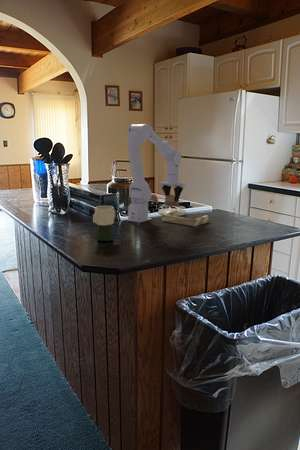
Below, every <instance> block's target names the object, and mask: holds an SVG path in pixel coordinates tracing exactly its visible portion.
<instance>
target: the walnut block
mask: <svg viewBox="0 0 300 450" xmlns="http://www.w3.org/2000/svg"><path fill="white" fill-rule="evenodd" d="M164 196H165V195H164ZM164 199H165V200H164V202H165V203H164V205H165V206H166V207H167V206H169V207H177V206H179V205H180V200H179V201H177V202H176V201H175V194H170V195H166V196H165V197H164Z"/></svg>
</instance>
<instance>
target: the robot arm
mask: <svg viewBox="0 0 300 450" xmlns="http://www.w3.org/2000/svg"><path fill="white" fill-rule="evenodd" d="M126 132H127V133H126V134H127V142H126V144H127V153H128V158H129V165H130V171H131V172H130V173H131V178H132V182H131V184H130V185H129V193H128V195H129V198H130V199H131V201H132V203H130V204H129V205H128V207H127V212H128V213H127V215H128V216H127V219H126V221H129V222H133V223H134V222H135V223H144V222H147V221H151V220H152V217H151V218H150V217H149V202H150V201H151V200H150V199H151V196H152V194H153V193H152V192H153V191H152V190H151V188H150V184H149V183H148V182H147V181H146V180H145V173H144V167H143V159H142V151H141V146H142V145H143V143H145V142H146V141H147V140H149V141H150V142H151V143H153V144H154V145H155V146H157V151H158V152H159V153H160V154H162V155H163V157H164V159H165V161H166V181H164V180H163V181H159V186H162V187H161V189H162V190H163V193H164V196H166V195H171V190H172V187H173V190H174V195H175V201H176V202H177V201H179V202H180V198H181V197H180V196H181V194H182V192H183V190H184V189H185V188H186V183H185V182H179V165H180V162H181V159H182V153H181V152H180V151H179V150H178V149H176V148H174V146H172V145H171V144H170V143H169V140H162V138H161V137H160V136H159V135H158V134H157V133H156V132H155V131H154V128H153V127H152V126H151V125H150V124H148V123H140V124H138V123H136V124H135V123H132V124H131V125H130V126H128V128H127V131H126ZM149 200H150V201H149Z"/></svg>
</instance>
